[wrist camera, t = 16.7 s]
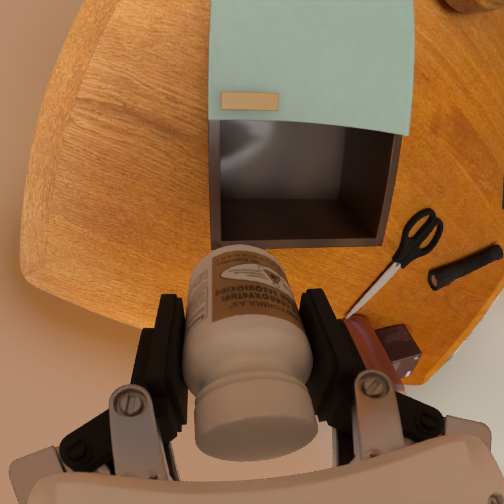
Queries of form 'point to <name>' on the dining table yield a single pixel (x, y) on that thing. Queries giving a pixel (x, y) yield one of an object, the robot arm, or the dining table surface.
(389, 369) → the beverage can
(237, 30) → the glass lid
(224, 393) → the pill bottle
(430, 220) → the scissors
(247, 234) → the display box
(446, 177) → the dining table surface
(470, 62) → the dining table surface
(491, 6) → the rough brown rock
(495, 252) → the flashlight
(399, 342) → the box
